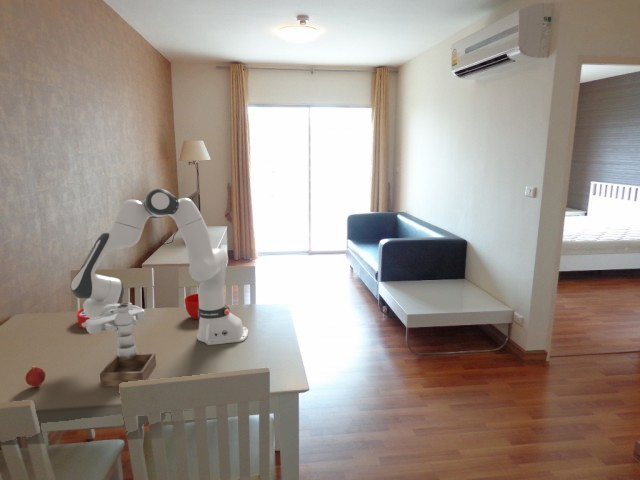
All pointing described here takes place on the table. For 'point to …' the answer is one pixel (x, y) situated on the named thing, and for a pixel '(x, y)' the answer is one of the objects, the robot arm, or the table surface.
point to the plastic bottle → (125, 333)
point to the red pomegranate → (35, 376)
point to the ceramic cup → (192, 305)
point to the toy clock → (81, 317)
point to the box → (128, 369)
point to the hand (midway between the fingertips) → (125, 325)
